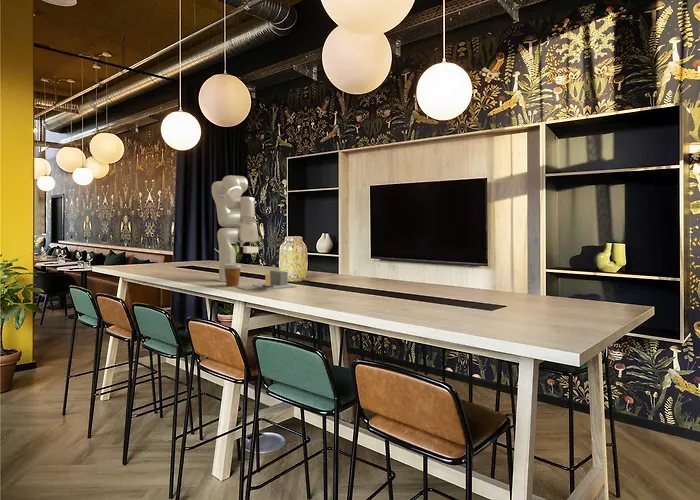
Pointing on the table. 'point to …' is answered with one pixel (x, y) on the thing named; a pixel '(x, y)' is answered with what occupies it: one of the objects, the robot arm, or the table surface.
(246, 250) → the cover
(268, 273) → the tan rectangular wooden board
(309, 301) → the table surface
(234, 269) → the disposable coffee cup
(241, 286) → the mat
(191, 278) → the table surface
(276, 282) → the housing
